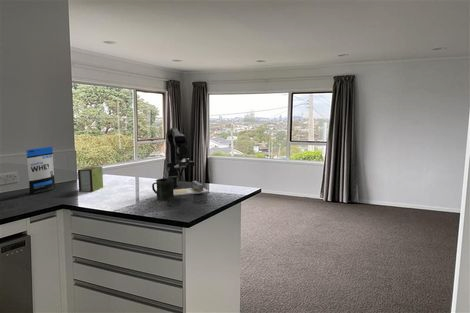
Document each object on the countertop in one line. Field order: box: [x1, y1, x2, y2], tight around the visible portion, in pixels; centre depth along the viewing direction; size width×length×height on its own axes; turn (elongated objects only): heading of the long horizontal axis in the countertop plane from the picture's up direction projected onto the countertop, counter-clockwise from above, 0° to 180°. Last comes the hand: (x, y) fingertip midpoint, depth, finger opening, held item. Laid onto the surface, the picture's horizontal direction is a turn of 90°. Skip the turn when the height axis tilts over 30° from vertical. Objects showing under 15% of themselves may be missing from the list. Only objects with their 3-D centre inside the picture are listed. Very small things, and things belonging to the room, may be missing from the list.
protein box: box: [77, 165, 104, 193], centre depth 248 cm, size 10×15×16 cm
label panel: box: [173, 187, 210, 197], centre depth 239 cm, size 15×24×2 cm, turn 113°
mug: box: [151, 177, 175, 201], centre depth 220 cm, size 11×15×12 cm
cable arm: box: [191, 180, 204, 191], centre depth 241 cm, size 17×4×4 cm, turn 23°
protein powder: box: [26, 146, 56, 196], centre depth 242 cm, size 10×24×30 cm, turn 170°
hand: (180, 177), depth 234 cm, fingers closed
